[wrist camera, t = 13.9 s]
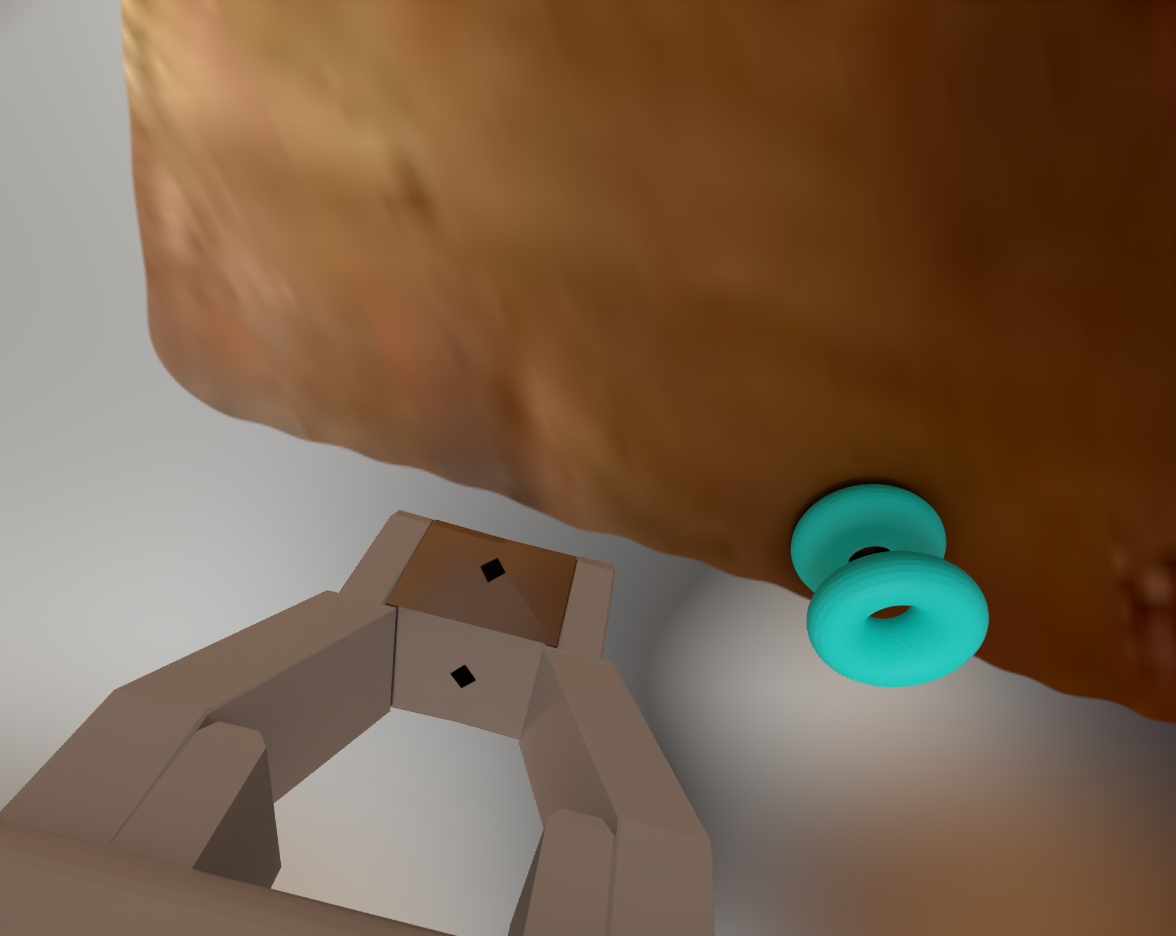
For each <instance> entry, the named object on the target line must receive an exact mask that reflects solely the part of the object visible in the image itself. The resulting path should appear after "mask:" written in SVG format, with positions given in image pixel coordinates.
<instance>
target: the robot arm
mask: <svg viewBox="0 0 1176 936" xmlns="http://www.w3.org/2000/svg"><path fill="white" fill-rule="evenodd" d="M576 559H577V560H576ZM614 576H615V568H614V565H613V564H608V563H604V562H600V561H596V560H591V559H587V558H583V557H578V558H577V557H576V556H572V555H568V554H564V553H560V552H555V551H552V550H547V549H544V548H540V547H536V546H532V545H528V544H524V543H520V542H515V541H511V540H506V539H504V538H500V537H496V536H492V535H489V534H485V533H482V532H478V531H475V530H471V529H468V528H464V527H461V526H457V525H454V524H450V523H446V522H443V521H439V520H432V519H429V518H426V517H422V516H419V515H415V514H412V513H408V512H404V511H401V510H399V511H397V512H396V513H395V514H393V515H392V516H390V518H389V519H388V521H387V522H386V524H385V525H384V527H383V528H382V530H381V531H380V533H379V534H378V536H377V537H376V539H375V540H374V542H373V543H372V545H371V546H370V548H369V549H368V551H367V552H366V554H365V555H364V557H363V558H362V559H361V561H360V563H359V564H358V566H357V567H356V568H355V570H354V571H353V573H352V574H351V576H350V577H349V579H348V580H347V582H346V583H345V585H344V586H343V588H342V589H341V591H340V592H339V593H336V592H332V591H325V592H322V593H321V594H318V595H316V596H314V597H312V598H310V599H307V600H305V601H303V602H301V603H299V604H297V605H295V606H293V607H290V608H288V609H286V610H284V611H282V612H280V613H278V614H275V615H273V616H271V617H269V618H267V619H265V620H263V621H261V622H258V623H256V624H254V625H252V626H250V627H248V628H246V629H243V630H241V631H239V632H237V633H235V634H233V635H231V636H229V637H226V638H224V639H222V640H220V641H218V642H216V643H213V644H212V645H209V646H207V647H205V648H203V649H201V650H199V651H196V652H194V653H192V654H190V655H188V656H186V657H184V658H182V659H180V660H177V661H175V662H173V663H171V664H169V665H167V666H164V667H162V668H160V669H158V670H156V671H154V672H152V673H150V674H147V675H145V676H143V677H141V678H139V679H137V680H135V681H132V682H130V683H128V684H126V685H124V686H122V687H120V688H118V689H116V690H114V691H113V692H112V693H111V694H110V695H109V696H108V697H107V698H106V699H105V700H104V702H103V703H102V704H101V705H100V706H99V707H98V708H97V709H96V710H95V711H94V712H93V713H92V714H91V715H90V717H89V718H88V719H87V720H86V721H85V722H84V723H83V724H82V725H81V726H80V727H79V728H78V729H77V730H76V731H75V733H74V734H73V735H72V736H71V737H70V738H69V739H68V740H67V741H66V742H65V743H64V744H63V745H62V746H61V748H60V749H59V750H58V751H57V752H56V753H55V754H54V755H53V756H52V757H51V758H50V759H49V760H48V761H47V762H46V763H45V765H44V766H43V767H42V768H41V769H40V770H39V771H38V772H37V773H36V774H35V775H34V776H33V777H32V779H31V780H30V781H29V782H28V783H27V784H26V785H25V786H24V787H23V788H22V789H21V790H20V791H19V792H18V794H16V796H15V797H14V798H13V799H12V800H11V801H10V802H9V803H8V804H7V805H6V806H5V807H4V808H3V809H2V810H1V812H0V936H455V935H451V934H447V933H444V932H440V931H436V930H432V929H427V928H424V927H419V926H415V925H412V924H408V923H404V922H400V921H396V920H392V919H388V918H384V917H381V916H377V915H372V914H369V913H364V912H361V911H357V910H353V909H349V908H345V907H341V906H337V905H333V904H329V903H325V902H321V901H317V900H314V899H309V898H306V897H302V896H297V895H294V894H290V893H286V892H282V891H278V890H274V889H271V887H272V885H273V883H274V881H275V878H276V876H277V874H278V872H279V870H280V868H281V861H280V853H279V845H278V837H277V829H276V821H275V813H274V803H275V802H276V801H277V800H279V799H280V798H281V797H282V796H284V795H285V794H286V793H287V792H289V791H290V790H291V789H292V788H294V787H295V786H296V785H297V784H299V783H300V782H301V781H303V780H304V779H305V778H306V777H308V776H309V775H310V774H311V773H313V772H314V771H315V770H316V769H318V768H319V767H320V766H321V765H323V764H324V763H325V762H327V761H328V760H329V759H330V758H332V757H333V756H334V755H335V754H337V753H338V752H339V751H340V750H342V749H343V748H344V747H345V746H347V745H348V744H349V743H350V742H352V741H353V740H354V739H355V738H357V737H358V736H359V735H361V734H362V733H363V732H364V731H365V730H367V729H368V728H369V727H371V726H372V725H373V724H374V723H375V722H377V721H378V720H379V719H381V718H382V717H383V716H384V715H386V714H387V713H388V712H390V707H393V708H398V709H402V710H407V711H411V712H416V713H420V714H424V715H429V716H433V717H438V718H442V719H447V720H451V721H455V722H459V723H462V724H466V725H470V726H473V727H477V728H480V729H484V730H488V731H491V732H494V733H498V734H501V735H505V736H508V737H512V738H516V739H519V740H520V741H519V745H520V749H521V752H522V755H523V758H524V762H525V766H526V769H527V772H528V776H529V780H530V783H531V786H532V790H533V793H534V797H535V800H536V804H537V807H538V811H539V814H540V817H541V821H542V824H543V828H544V829H543V832H542V835H541V838H540V841H539V843H538V847H537V850H536V852H535V855H534V858H533V861H532V864H531V867H530V869H529V872H528V875H527V878H526V881H525V884H524V887H523V890H522V892H521V896H520V898H519V901H518V904H517V907H516V910H515V913H514V915H513V918H512V921H511V924H510V928H509V933H508V936H715V934H714V902H713V870H712V843H711V841H710V840H709V838H708V836H707V834H706V832H705V830H704V828H703V827H702V825H701V823H700V821H699V819H698V817H697V816H696V814H695V812H694V810H693V808H692V806H691V805H690V803H689V801H688V799H687V797H686V796H685V794H684V792H683V790H682V788H681V786H680V784H679V782H678V781H677V779H676V777H675V776H674V773H673V772H672V770H671V768H670V766H669V764H668V762H667V760H666V759H665V757H664V755H663V753H662V751H661V750H660V747H659V746H658V744H657V742H656V740H655V738H654V736H653V735H652V733H651V731H650V729H649V727H648V725H647V723H646V722H645V720H644V718H643V716H642V714H641V713H640V711H639V709H638V707H637V705H636V703H635V701H634V700H633V698H632V696H631V694H630V692H629V690H628V689H627V687H626V685H625V683H624V681H623V679H622V678H621V676H620V674H619V672H618V670H617V668H616V666H615V664H613V663H610V662H607V661H603V660H602V659H603V653H604V645H605V639H606V631H607V625H608V618H609V611H610V603H611V596H612V590H613V583H614ZM456 720H457V721H456Z"/></svg>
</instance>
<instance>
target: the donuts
mask: <svg viewBox="0 0 1176 936" xmlns="http://www.w3.org/2000/svg"><path fill="white" fill-rule="evenodd" d="M871 546H880V547H885V548H888V549H889V550H890V551H888V552H880V553H875V554H871V555H867V556H864V557H861V558H858V559H856V560H853V561H851V562H849V558H850V557H851V556H852V555H853V554H854V553H855V552H857V551H859V550H860V549H863V548H866V547H871ZM945 549H946V535H945V530H944V527H943V524H942V522H941V520H940V518H939V516H938V515H937V513H936V512H935V510H934V509H933V508H932V507H931V506H930V505H929V504H928V503H927V502H926V501H924V500H923V499H922V498H920V497H919V496H917V495H916V494H914V493H912V492H910V491H907V490H905V489H902V488H898V487H894V486H889V485H882V484H864V485H856V486H851V487H847V488H844V489H841V490H838V491H836V492H833V493H831V494H829V495H827V496H825V497H824V498H822V499H820V500H819V501H818V502H816V503H815V504H814V505H813V506H811V507H810V508H809V509H808V510H807V512H806V513H805V514H804V515H803V516H802V518H801V519H800V521H799V522H798V524H797V526H796V528H795V530H794V533H793V536H792V541H791V557H792V562H793V565H794V568H795V570H796V572H797V573H798V575H799V577H800V578H801V580H802V581H803V582H804V583H805V584H806V585H807V586H808V587H809V588H810V589H811V590H812V591H813V592H815V593H814V595H813V597H812V599H811V602H810V604H809V607H808V611H807V631H808V635H809V639H810V642H811V644H812V646H813V648H814V649H815V651H816V653H817V654H818V655H819V657H820V658H821V659H822V660H823V661H824V662H825V663H826V664H827V665H829V666H830V667H831V668H832V669H833V670H835V671H836V672H838V673H839V674H841V675H843V676H845V677H847V678H850V679H852V680H855V681H858V682H861V683H865V684H869V685H874V686H882V687H906V686H913V685H919V684H923V683H927V682H930V681H933V680H936V679H939V678H941V677H943V676H946V675H948V674H950V673H951V672H953V671H955V670H956V669H958V668H959V667H961V666H962V665H963V664H965V662H967V661H968V660H969V659H970V658H971V657H972V656H973V655H974V654H975V653H976V651H977V650H978V649H979V647H980V646H981V644H982V642H983V640H984V638H985V635H986V632H987V628H988V622H989V614H988V608H987V603H986V600H985V598H984V595H983V593H982V592H981V590H980V588H979V587H978V585H977V584H976V583H975V581H974V580H973V579H972V578H971V577H970V576H969V575H968V574H967V573H965V572H964V571H963V570H962V569H960V568H959V567H957V566H956V565H954V564H952V563H950V562H948V561H946V560H944V559H943V558H944V554H945ZM897 605H910V606H911V607H910V608H909V609H908V611H906V612H905V613H903V614H901V615H899V616H897V617H894V618H889V619H877V618H873V617H870V616H869V615H871V614H872V613H874V612H876V611H878V610H880V609H883V608H886V607H891V606H897Z"/></svg>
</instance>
